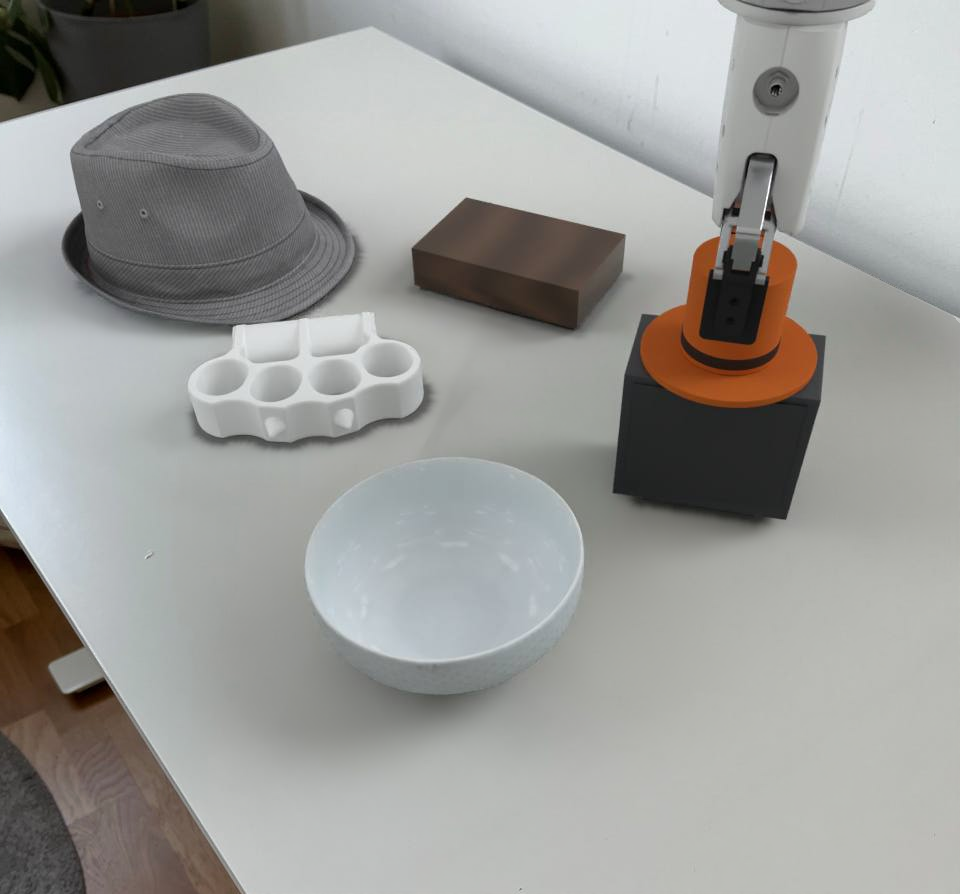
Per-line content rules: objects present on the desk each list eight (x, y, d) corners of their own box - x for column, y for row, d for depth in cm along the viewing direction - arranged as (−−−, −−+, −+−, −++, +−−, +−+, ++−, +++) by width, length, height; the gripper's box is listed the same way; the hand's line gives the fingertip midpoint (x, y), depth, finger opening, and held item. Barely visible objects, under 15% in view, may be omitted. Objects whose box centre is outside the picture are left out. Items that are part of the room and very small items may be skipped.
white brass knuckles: (413, 331, 85) (431, 439, 75) (202, 353, 83) (194, 465, 74) (410, 295, 82) (427, 403, 73) (192, 317, 81) (182, 430, 72)
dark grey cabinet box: (627, 442, 74) (642, 313, 66) (790, 465, 72) (826, 335, 64) (610, 505, 70) (623, 376, 62) (782, 533, 68) (820, 402, 59)
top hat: (764, 293, 67) (784, 200, 62) (848, 386, 60) (879, 290, 55) (614, 324, 65) (622, 230, 60) (683, 424, 58) (699, 328, 53)
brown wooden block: (622, 276, 89) (626, 234, 86) (576, 333, 84) (578, 290, 81) (467, 237, 94) (465, 196, 91) (414, 289, 89) (411, 247, 86)
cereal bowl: (388, 509, 71) (377, 430, 65) (611, 566, 66) (620, 487, 61) (272, 688, 61) (248, 613, 55) (526, 768, 56) (527, 695, 51)
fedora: (239, 366, 82) (202, 223, 72) (14, 280, 92) (-45, 145, 82) (403, 235, 95) (390, 99, 85) (190, 172, 104) (157, 44, 95)
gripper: (882, 37, 40) (789, 387, 53) (885, -88, 51) (806, 230, 64) (697, 23, 41) (651, 368, 55) (738, -96, 52) (691, 218, 65)
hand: (735, 293), depth 59 cm, fingers open, 9 cm apart
